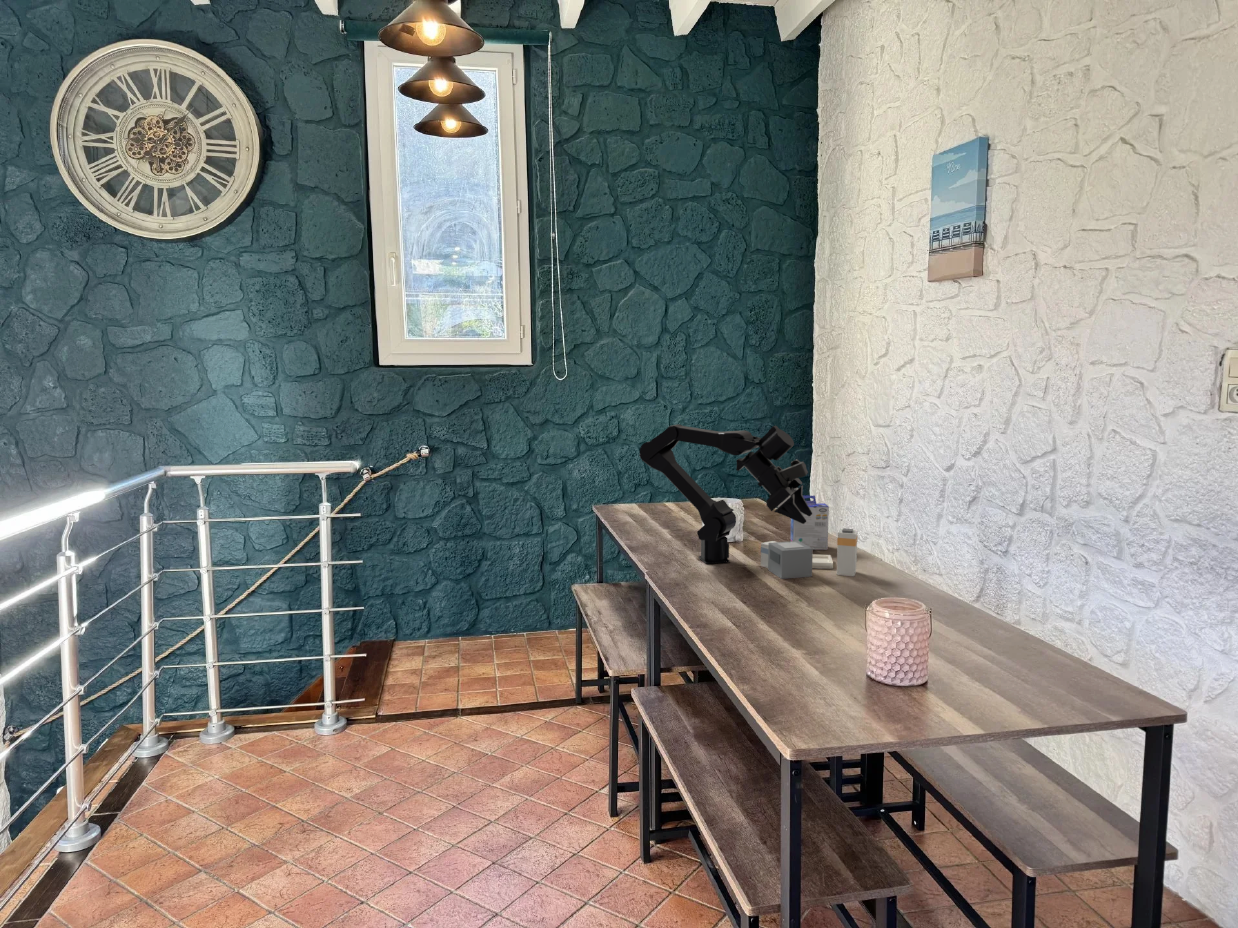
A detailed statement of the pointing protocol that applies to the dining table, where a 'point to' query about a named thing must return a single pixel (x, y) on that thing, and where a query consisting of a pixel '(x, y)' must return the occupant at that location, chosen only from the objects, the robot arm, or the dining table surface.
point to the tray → (822, 561)
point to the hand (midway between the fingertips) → (808, 518)
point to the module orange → (846, 552)
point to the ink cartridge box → (812, 526)
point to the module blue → (765, 553)
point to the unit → (790, 559)
